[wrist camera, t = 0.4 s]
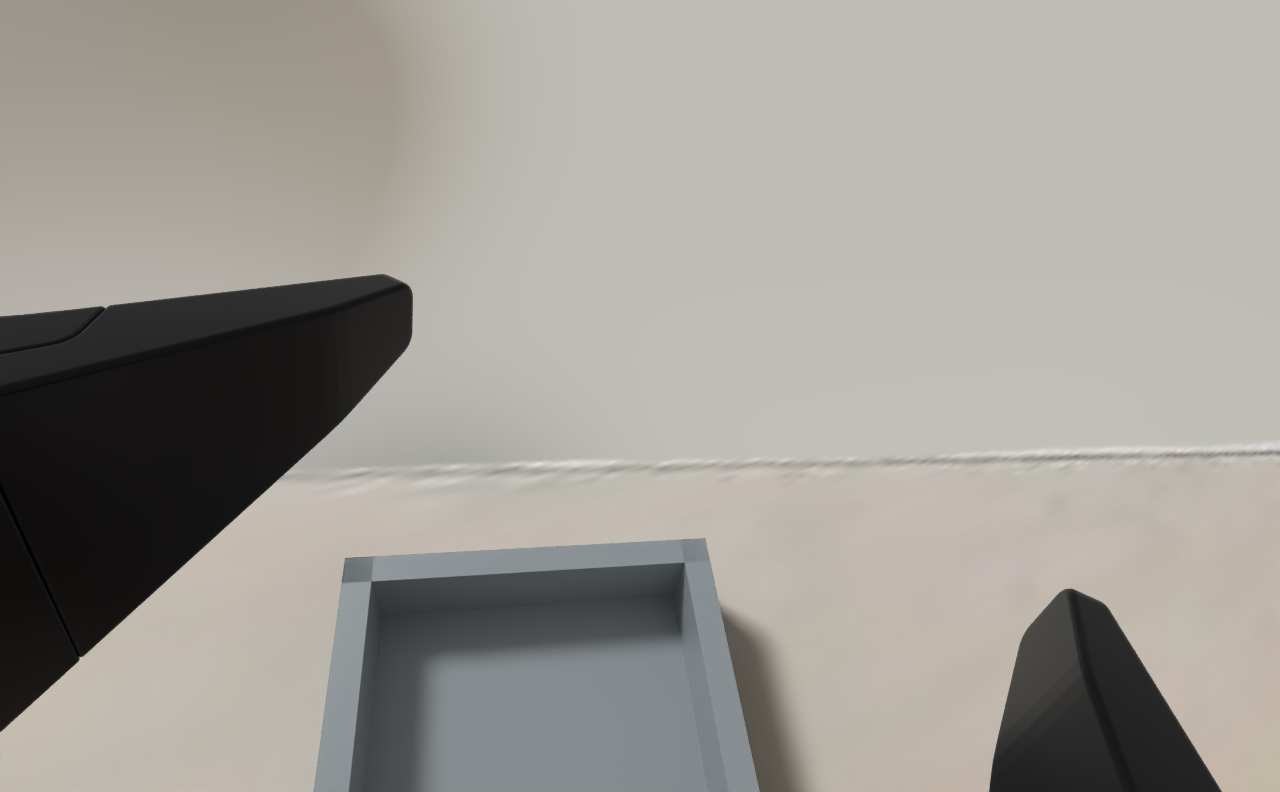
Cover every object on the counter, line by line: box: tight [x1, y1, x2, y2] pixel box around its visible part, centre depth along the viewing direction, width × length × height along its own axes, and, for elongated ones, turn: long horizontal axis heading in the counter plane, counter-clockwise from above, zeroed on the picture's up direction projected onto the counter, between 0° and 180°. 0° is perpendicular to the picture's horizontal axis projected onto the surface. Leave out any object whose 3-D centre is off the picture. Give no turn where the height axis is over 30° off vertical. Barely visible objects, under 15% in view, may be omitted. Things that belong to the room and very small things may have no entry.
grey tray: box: [314, 538, 760, 792], centre depth 21 cm, size 11×11×3 cm
